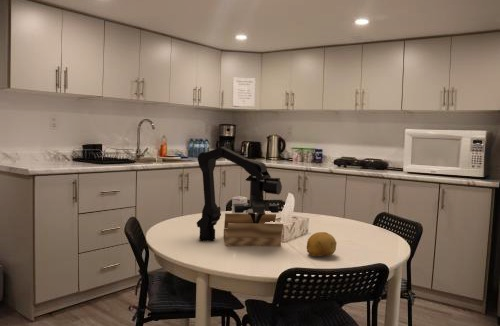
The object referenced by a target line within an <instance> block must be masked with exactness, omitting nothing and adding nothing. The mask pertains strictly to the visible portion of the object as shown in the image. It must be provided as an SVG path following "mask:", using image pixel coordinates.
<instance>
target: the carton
mask: <svg viewBox="0 0 500 326" xmlns="http://www.w3.org/2000/svg"><path fill="white" fill-rule="evenodd" d="M227 229H228V228H223V240H224V243H225V247H281V246H282V245H281V244H282V237H281V238H227Z"/></svg>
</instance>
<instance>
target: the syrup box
mask: <svg viewBox="0 0 500 326" xmlns="http://www.w3.org/2000/svg"><path fill="white" fill-rule="evenodd" d="M231 200H232V201H231V203H232V204H231V205H232V207H231V213H235V212H234V204H243V205H244V206H248V197H246V196H240V195H239V196H234V197H232V199H231ZM236 214H248V213H247V210H244V212H243V213H236Z"/></svg>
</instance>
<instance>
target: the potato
mask: <svg viewBox="0 0 500 326" xmlns="http://www.w3.org/2000/svg"><path fill="white" fill-rule="evenodd" d="M336 250H337V241H336V239H335V237H334V236H333V235H332V234H331V233H328V232H323V231H321V232H320V231H319V232H315V233H313V234H311V235H310V236H309V238H308V239H307V243H306V252H307V253H308V254H309V255H310V256H313V257H320V256H321V257H330V256H332V255H333V254H335V252H336Z"/></svg>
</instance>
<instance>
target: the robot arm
mask: <svg viewBox="0 0 500 326" xmlns="http://www.w3.org/2000/svg"><path fill="white" fill-rule="evenodd" d="M221 158H224V159H226V160H227V161H229V162H231V163H234V164H235V165H237V166H239V167H241V168H242V169H244V171H245V172H246V173H248V174H249V176H247V178H245V181H246V182H250V184H249V205H247V206H244V205H243V204H234V212H235V213H243V212H244V210H247V214H249V215H250V216H251V218H252V221H253V223H256V224H258V223H259V221H260V219H261V217H262V216H263V215H265V214H266V211H269V212H271V213H270V214H279V213H280V208H279V207H280V206H278V204H276V203H270V200H264V193H265V194H271V195H278V196H279V195H281V193H282V189H283V186H282V182H281V178H280V177H272V176H271V175H270V173H269V171H268V170H267V166H266V164H265V163H264V162H263V161H258V160H255V159H249V158H247V157H245V156H243V155H241V154H239V153H237V152H236V151H233V150H231V149H229V148H227V147H226V146H218V147H217V148H214V149H211V150H209V151H202V152H200V153H199V154H198V155H197V162H198V167H199V169H200V171H201V174H202V182H203V183H202V186H203V200H204V206H203V207H202V211H201V218H199V219H198V221H197V222H196V227H197V228H199V236H198V239H199V242H214V241H215V240H216V228H215V226H216V225H217V223H218V221H220V219H221V216H222V213H221V206H218V205H217V203H216V193H215V178H214V170H215V168H216V165H217V160H219V159H221ZM255 214H256V222H255Z"/></svg>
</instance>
